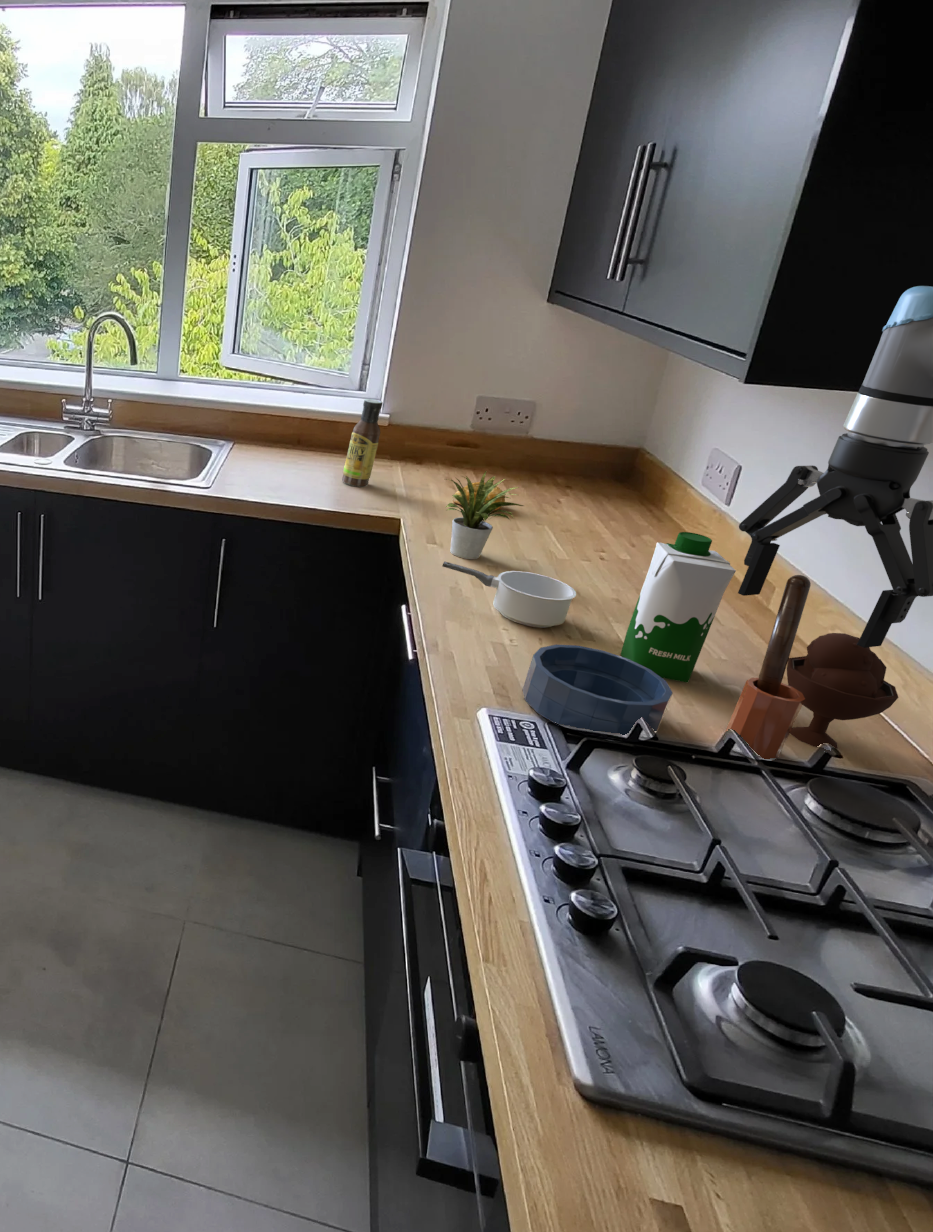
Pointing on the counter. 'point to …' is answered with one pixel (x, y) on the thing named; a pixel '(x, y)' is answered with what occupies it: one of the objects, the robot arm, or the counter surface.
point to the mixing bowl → (594, 689)
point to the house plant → (475, 518)
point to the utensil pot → (766, 717)
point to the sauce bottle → (363, 445)
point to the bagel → (475, 486)
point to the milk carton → (677, 606)
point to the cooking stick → (783, 634)
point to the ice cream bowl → (838, 684)
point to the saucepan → (526, 596)
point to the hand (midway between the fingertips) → (805, 618)
